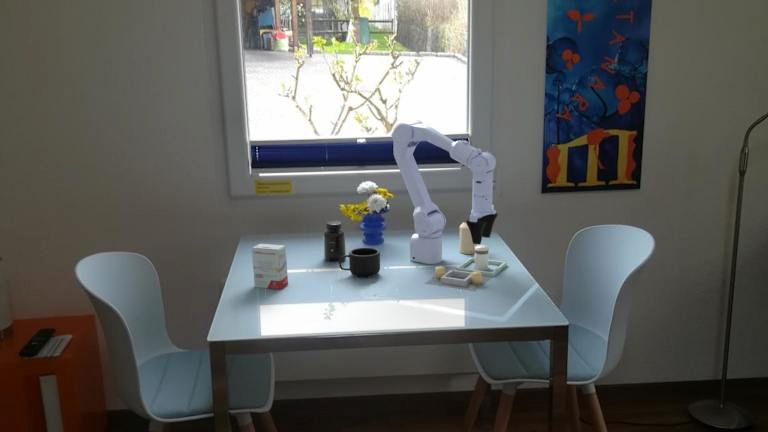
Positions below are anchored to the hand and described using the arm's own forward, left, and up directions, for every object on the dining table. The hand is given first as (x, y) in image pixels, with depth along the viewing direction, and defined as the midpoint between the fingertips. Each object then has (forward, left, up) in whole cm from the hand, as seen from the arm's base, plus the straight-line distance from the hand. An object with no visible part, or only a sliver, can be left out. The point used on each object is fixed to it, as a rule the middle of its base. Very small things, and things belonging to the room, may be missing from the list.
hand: (481, 240), depth 208 cm
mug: (-31, -18, -10) cm, 37 cm away
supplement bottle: (-46, -8, -10) cm, 48 cm away
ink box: (-49, -37, -10) cm, 62 cm away
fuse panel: (-2, -13, -10) cm, 16 cm away
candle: (-11, +17, -10) cm, 22 cm away
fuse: (0, 0, -9) cm, 9 cm away
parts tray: (0, 0, -10) cm, 10 cm away
